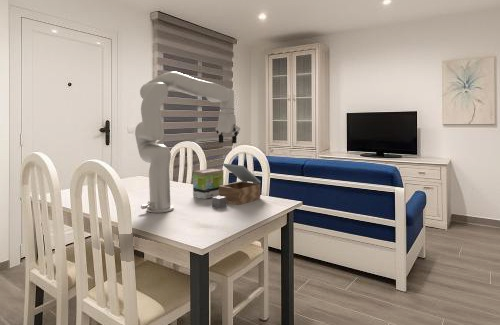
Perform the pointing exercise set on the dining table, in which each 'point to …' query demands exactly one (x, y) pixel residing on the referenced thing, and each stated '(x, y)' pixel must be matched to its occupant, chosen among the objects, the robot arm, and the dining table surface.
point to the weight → (219, 202)
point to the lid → (242, 173)
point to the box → (240, 192)
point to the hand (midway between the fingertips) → (227, 142)
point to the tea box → (207, 183)
